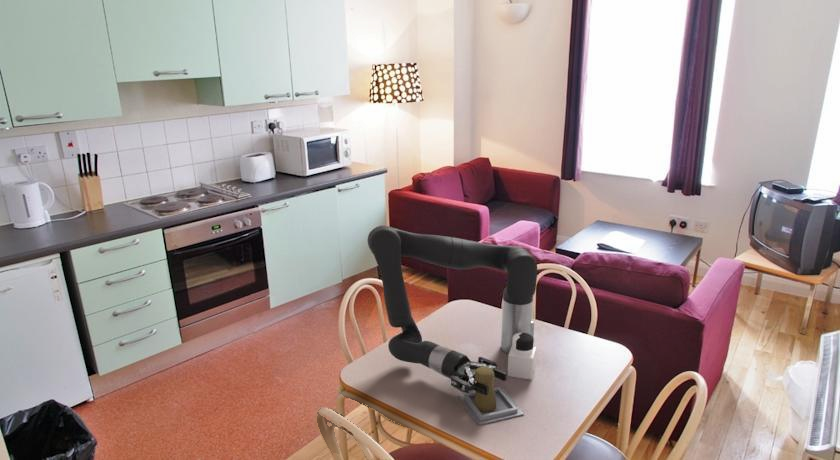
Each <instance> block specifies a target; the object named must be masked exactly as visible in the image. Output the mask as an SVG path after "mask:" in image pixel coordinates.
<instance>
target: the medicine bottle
mask: <svg viewBox="0 0 840 460" xmlns="http://www.w3.org/2000/svg"><path fill="white" fill-rule="evenodd" d="M534 339H535V338H534V337H532V335H530V334H528V333H516V334H515V335H514V336H513V342H512V347H511V349H510V352H509V353H508V355H507V356H508V357H507V377H513V378H519V379H524V380H525V379H526V380H530V381H531V380H533V376H534V373H535V370H536V360H537V359H536V358H537V347H536V346H534V341H535V340H534Z"/></svg>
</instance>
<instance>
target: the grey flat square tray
mask: <svg viewBox="0 0 840 460" xmlns="http://www.w3.org/2000/svg"><path fill="white" fill-rule="evenodd" d="M475 392H476V391H473V392H469V393H465V394H462V395H458V399H459V401H460V402H461V403H462V405H463V406H464V407H465V408H466V409H465V410H467V412H468V413H469V415H470V416H471V417H472V419H473V421H474V422H475V423H476V424H477V426H478V427H480V426H483V425H487V424H491V423H492V424H493V423H496V422H500V421H505V420H509V419H514V418H517V417H522V416H525V415H524V412H523V411H522V410H521V409H520V407H518V405H517V404H516V402H514V400H513V399H512V398H511V397H510V396H509V394H508V393H507V392H506V391H505V389H503V388H502V386H497V387H494V393H495V399H496V405H497V406H496V409H495V410H493V411H491V412H480V411H479V410H478V408H477V407H476V406H475V404H474V400H475Z"/></svg>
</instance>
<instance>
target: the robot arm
mask: <svg viewBox="0 0 840 460" xmlns="http://www.w3.org/2000/svg"><path fill="white" fill-rule="evenodd" d="M367 235H368V236H367V245H368V248H369V250H370V252H371V254H372V255H373V256H374V259H375V262H376V264H377V266H378V270H379V273H380V278H381V281H382V288H383V289H382V291H383V298H384V304H385V310H386V314H387V319H388V323H389V324H390V326H391V327H393V328H397V329H398V328H401V332H399V333H398V334H396V335H395V336H393V337H392V338H391V339H390V340H389V342H388V346H387V347H388V351H389V353H390V354H391V355H392V356H393V357H394V358H395V359H397V360H399V361H402V362H406V363H411V364H420V365H422V366H424V367H426V368H428V369H431V370H432V371H434V372H435V373H437V374H439V375H441V376H444V377H446V378H448V379H450V386H451V387H453V388H455V389H457V390H459V391H461V392H463V393H465V394H469V393H470V392H478V393H481V394H484V395H488V394H489V388H488V387H487V386H485V385H483V384H480V383H478V382H477V381H476V380H475V371H476V369H478V368H479V367H489V368H491V369H492V370H493V371H494V378H496V379H499V380H501V381H502V382H505V381H507V379H508V373H507V372H505V371H503V370H501V369H499V368H498V362H496V361H494V360H491V359H487V358H485V357H482V356H479V357H478V359H477V361H472V360H471V359H469V357H468V355H466V354H463V353H461V352H458V351H456V350H454V349H451V348H449V347H446V346H444V345H443V346H442V345H440V344H437V343H435V342H433V341H429V340H424V341H423V336H422V334H421V331H420V330H419V328H418V326H417V324H416V321H415V320H414V318H413V316H412V311H411V306H410V300H409V296H408V293H407V289H406V288H407V287H406V284H405V280H404V275H403V267H402V266H403V265H402V257H408V258H413V259H416V260H419V261H421V262H422V261H423V262H425V263H428V264H431V265H434V266H439V267H443V268H448V269H455V270H468V269H469V270H471V269H476V268H489V269H490V268H491V269H496V270H499V271H503V272H505V273H506V274H507V275H506V277H507V278H506V287H504V289H503V292H502V312H501V313H502V315H501V338H500V339H501V340H500V347H501V350H502V351H503V352H505V353H507V354H509V352H510V349H511V347H512V342H513V336H514V335H515V334H516V333H528V334H530V335H532V337H533V338H534V336H535V332H534V331H535V322H534V321H533V307H534V306H533V304H534V303H533V302H534V296H535V293H536V289H537V280H538V263H537V261H536V258H535V257H534V256H533V255H532V254H531V253H530V252H529V251H528V250H527V249H525V248H524V247H521V246H515V245H498V244H489V243H484V242H479V241H474V240H470V239H469V240H468V239H466V238H465V239H464V238H459V237H454V236H452V237H451V236H446V235H445V236H444V235H440V234H439V235H436V234H426V233H425V234H422V233H414V232H410V231H406V230H402V229H399V228H395V227H391V226H389V225H379V226H376V227H374V228H372V230H371V231H370V232H369V233H368V234H367Z"/></svg>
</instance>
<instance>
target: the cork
mask: <svg viewBox="0 0 840 460" xmlns="http://www.w3.org/2000/svg"><path fill="white" fill-rule="evenodd" d="M475 380H476V381H475V382H478V383H480V384H483V385H485V386H487V387H488V388H489V394H488V395H484V394H481V393H478V392H476V391H474V392H475V400H474V404H475V406H476V407H477V408H478V410H479V411H480V412H491V411H493V410H495V409H496V406H497V405H496V399H495V393H494V388H495V387H494V380H495V377H494V371H493V370H492V369H491V368H489V367H479V368H478V369H476V371H475Z"/></svg>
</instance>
